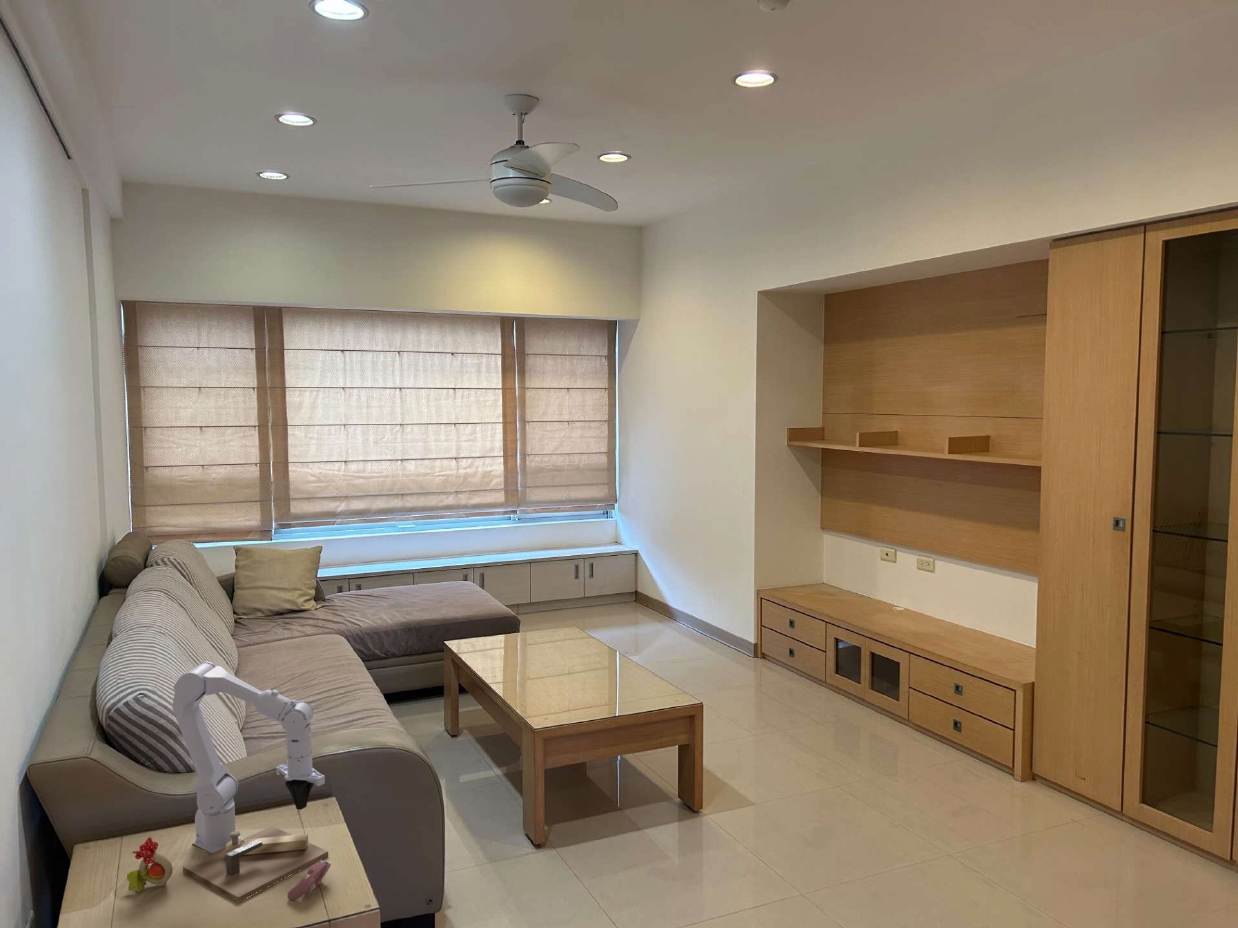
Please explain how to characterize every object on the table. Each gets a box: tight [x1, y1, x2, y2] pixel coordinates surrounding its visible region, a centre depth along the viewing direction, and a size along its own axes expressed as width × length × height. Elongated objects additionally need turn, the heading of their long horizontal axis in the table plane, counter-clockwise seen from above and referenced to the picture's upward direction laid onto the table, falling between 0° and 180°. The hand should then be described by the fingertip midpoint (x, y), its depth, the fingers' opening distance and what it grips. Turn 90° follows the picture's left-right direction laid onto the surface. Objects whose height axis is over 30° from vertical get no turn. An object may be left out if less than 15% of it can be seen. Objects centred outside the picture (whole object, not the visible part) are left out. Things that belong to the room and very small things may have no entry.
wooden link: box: [226, 830, 309, 855], centre depth 208 cm, size 18×4×5 cm, turn 100°
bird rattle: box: [126, 836, 174, 893], centre depth 195 cm, size 6×11×9 cm
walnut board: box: [182, 825, 329, 903], centre depth 205 cm, size 22×23×1 cm
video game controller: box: [287, 859, 332, 901], centre depth 194 cm, size 10×5×7 cm, turn 169°
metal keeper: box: [226, 839, 262, 876], centre depth 201 cm, size 2×8×5 cm, turn 145°
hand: (301, 807), depth 214 cm, fingers closed
